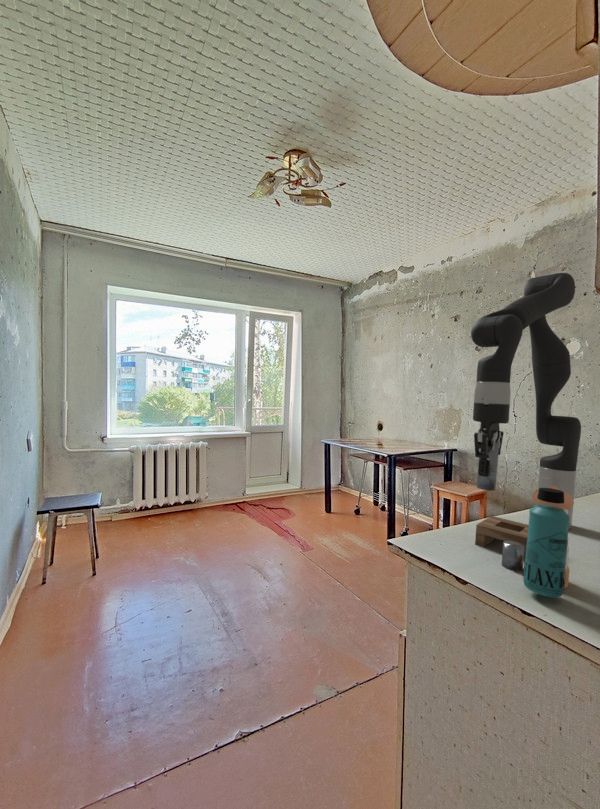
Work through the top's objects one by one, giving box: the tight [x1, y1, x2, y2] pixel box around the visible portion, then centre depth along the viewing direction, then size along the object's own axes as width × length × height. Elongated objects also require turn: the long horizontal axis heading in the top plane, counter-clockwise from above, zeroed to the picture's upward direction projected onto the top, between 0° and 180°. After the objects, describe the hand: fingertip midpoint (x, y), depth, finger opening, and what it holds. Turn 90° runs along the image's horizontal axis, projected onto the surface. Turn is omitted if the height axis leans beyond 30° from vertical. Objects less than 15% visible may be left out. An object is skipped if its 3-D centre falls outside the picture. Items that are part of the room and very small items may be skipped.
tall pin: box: [476, 442, 499, 492], centre depth 88 cm, size 4×4×11 cm
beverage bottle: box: [522, 488, 570, 598], centre depth 69 cm, size 6×7×20 cm
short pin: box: [501, 540, 525, 572], centre depth 81 cm, size 4×4×5 cm
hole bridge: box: [474, 515, 529, 560], centre depth 94 cm, size 12×12×5 cm
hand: (486, 474), depth 88 cm, fingers closed on tall pin, 4 cm apart
